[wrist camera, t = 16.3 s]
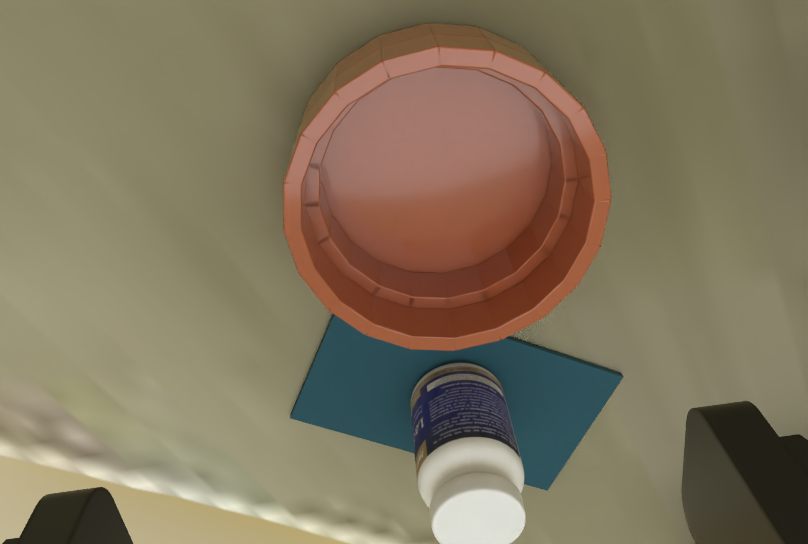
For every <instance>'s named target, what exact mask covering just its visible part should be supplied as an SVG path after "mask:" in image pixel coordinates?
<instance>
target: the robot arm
mask: <svg viewBox="0 0 808 544" xmlns="http://www.w3.org/2000/svg"><path fill="white" fill-rule="evenodd" d="M682 501H683V507H684V512H685V516H686V520H687V523H688V526H689V529H690V532H691V534H692V536H693V539H694V541H695V543H696V544H808V440H807V439H805V438H804V437H802V436H801V435H799V434H798V435H791V436H783V437H779V436H778V435H777V434H776V432H775V431H774V430H773V428H772V427H771V426H770V424H769V423H768V422H767V420H766V419H765V418H764V416H763V415H762V414H761V412H760V411H759V410H758V408H757V407H756V406H755V405H754V404H752V403H751V402H749V401H742V402H735V403H728V404H720V405H713V406H706V407H698V408H692V409H691V410H690V411H689V412H688V415H687V421H686V434H685V448H684V463H683V477H682ZM3 544H133V542H132V540H131V537H130V535H129V533H128V531H127V528H126V526H125V524H124V522H123V520H122V518H121V515H120V513H119V511H118V509H117V506H116V504H115V502H114V500H113V497H112V496H111V494H110V492H109V491H108V490H107V489H105V488H103V487H98V488H91V489H83V490H76V491H68V492H61V493H54V494H48V495H46V496H44V497H43V498H42V499H41V500H40V501H39V502H38V504H37V505H36V507H35V509H34V511H33V513H32V514H31V516H30V518H29V520H28V522H27V524H26V526H25V528H24V530H23V532H22V534H21V535H20V538H14V539H6V540H5V541H4V542H3Z"/></svg>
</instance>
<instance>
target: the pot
mask: <svg viewBox="0 0 808 544" xmlns="http://www.w3.org/2000/svg"><path fill="white" fill-rule="evenodd" d="M610 203H611V190H610V181H609V172H608V163H607V154H606V150H605V148H604V146H603V144H602V142H601V140H600V138H599V136H598V134H597V132H596V130H595V128H594V126H593V124H592V122H591V120H590V118H589V116H588V114H587V112H586V110H585V108H584V107H583V105H582V104H581V103H580V102H579V101H578V100H577V99H576V98H575V97H574V96H573V95H572V94H571V93H570V92H569V91H568V90H567V89H566V88H565V87H564V86H563V85H562V84H561V83H560V82H559V81H558V80H557V79H556V78H555V77H554V76H553V75H552V74H551V73H550V72H549V71H548V70H547V69H546V68H545V67H543V66H542V65H541V64H540V63H539V62H538V61H537V60H536V59H535V58H534V57H533V56H532V55H531V54H530V53H528V52H527V51H526V50H525V49H524V48H523V47H522V46H520V45H519V44H516V43H514V42H512V41H509V40H507V39H505V38H502V37H500V36H498V35H496V34H493V33H491V32H489V31H486V30H484V29H482V28H479V27H476V26H464V25H450V24H436V23H425V24H421V25H417V26H413V27H410V28H406V29H402V30H398V31H394V32H390V33H387V34H383V35H380V36H378V37H376V38H375V39H373V40H372V41H370V42H369V43H367V44H366V45H364V46H362V47H361V48H359V49H358V50H356V51H355V52H353V53H352V54H350V55H349V56H347V57H346V58H344V59H343V60H341V61H339V63H337V65H336V66H335V67H334V68H333V70H332V71H331V72H330V74H329V75H328V76H327V77H326V79H325V80H324V81H323V82H322V84H321V85H320V86H319V87H318V89H317V90H316V91H315V93H314V94H313V95H312V96H311V98H310V100H309V101H308V104H307V106H306V109H305V112H304V115H303V118H302V121H301V124H300V126H299V129H298V132H297V135H296V138H295V141H294V144H293V148H292V151H291V155H290V159H289V163H288V167H287V170H286V174H285V178H284V182H283V229H284V234H285V236H286V239H287V242H288V245H289V248H290V250H291V253H292V256H293V259H294V262H295V264H296V267H297V270H298V273H299V274H300V276H301V277H302V278H303V280H304V281H305V282H306V283H307V285H308V286H309V287H310V288H311V290H312V291H313V292H314V293H315V295H316V296H317V297H318V298H319V300H320V301H321V302H322V303H323V305H324V306H325V307H326V308H327V309H328V310H329V311H330V312H332V313H333V314H335V315H336V316H338V317H339V318H341V319H342V320H343V321H345V322H346V323H348V324H349V325H351V326H352V327H354V328H355V329H357V330H358V331H360V332H361V333H363V334H364V335H367V336H370V337H373V338H376V339H379V340H382V341H386V342H389V343H392V344H395V345H398V346H401V347H405V348H409V349H414V350H442V351H455V350H461V349H465V348H469V347H474V346H478V345H483V344H487V343H491V342H496V341H500V339H501V340H502V339H504V338H506V337H508V336H510V335H512V334H514V333H516V332H518V331H520V330H521V329H523V328H525V327H527V326H529V325H531V324H533V323H535V322H537V321H539V320H540V319H542V318H543V317H545V316H546V315H547V314H548V313H549V312H550V311H551V310H552V309H553V308H554V307H555V306H556V305H558V304H559V303H560V302H561V301H562V300H563V299H564V298H565V297H566V296H567V295H568V294H569V293H570V292H571V291H572V290H574V289H575V288H576V286H578V284H579V283H580V281H581V279H582V277H583V276H584V274H585V272H586V271H587V269H588V267H589V266H590V264H591V262H592V261H593V259H594V257H595V255H596V254H597V252H598V250H599V249H600V247H601V243H602V239H603V234H604V230H605V225H606V221H607V217H608V212H609V208H610Z"/></svg>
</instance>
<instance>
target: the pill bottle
mask: <svg viewBox="0 0 808 544" xmlns="http://www.w3.org/2000/svg"><path fill="white" fill-rule="evenodd" d="M411 416H412V428H413V438H414V449H415V461H416V473H417V482H418V488H419V492H420V494H421V497H422V499H423V500H424V502H425V503H426V505H427V506H428V507H429V508H430V519H431V526H432V530H433V533H434V535H435V537H436V539H437V540H438V541H439V542H440V543H441V544H510V543H512V542H513V541H514V540H515V539H516V538H517V537H518V536H519V535H520V533H521V532H522V530H523V528H524V525H525V510H524V505H523V500H522V496H521V492H522V489H523V485H524V469H523V465H522V461H521V457H520V453H519V450H518V446H517V442H516V439H515V435H514V431H513V428H512V424H511V420H510V416H509V412H508V408H507V404H506V400H505V396H504V392H503V389H502V387H501V385H500V383H499V381H498V380H497V378H496V377H495V376H494V375H493V374H492V373H490V372H489V371H488V370H486V369H484V368H483V367H480V366H478V365H475V364H470V363H451V364H446V365H443V366H440V367H437V368H435V369H433V370H432V371H430V372H429V373H427V374H426V375H425V376H424V377H423V378H422V379H421V380H420V381H419V382H418V383H417V385H416V387H415V388H414V391H413V394H412V397H411Z"/></svg>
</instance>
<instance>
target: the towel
mask: <svg viewBox="0 0 808 544" xmlns="http://www.w3.org/2000/svg"><path fill="white" fill-rule="evenodd" d="M451 363H470V364H475V365H478V366H480V367H483V368H484V369H486V370H488V371H489V372H490V373H492V374H493V375H494V376H495V377H496V378H497V380H498V381H499V383H500V385H501V387H502V389H503V392H504V396H505V400H506V404H507V408H508V412H509V416H510V420H511V424H512V428H513V431H514V435H515V439H516V442H517V446H518V450H519V453H520V457H521V461H522V465H523V469H524V484H526V485H530V486H534V487H537V488H541V489H544V490H548V489H549V487H550V486H551V484H552V483H553V481H554V480H555V478H556V477H557V475H558V474H559V472H560V471H561V469H562V468H563V466H564V465H565V463H566V462H567V460H568V459H569V457H570V456H571V454H572V453H573V451H574V450H575V448H576V447H577V445H578V444H579V442H580V441H581V439H582V438H583V436H584V435H585V433H586V432H587V430H588V429H589V427H590V426H591V424H592V423H593V421H594V420H595V418H596V417H597V415H598V414H599V412H600V411H601V409H602V408H603V406H604V405H605V403H606V402H607V400H608V399H609V398H610V396H611V395H612V393H613V392H614V390H615V389H616V387H617V386H618V384H619V383H620V381H621V380H622V378H623V376H622V374H621V373H619V372H616V371H613V370H610V369H606V368H603V367H600V366H597V365H594V364H591V363H588V362H585V361H582V360H579V359H576V358H573V357H570V356H567V355H564V354H561V353H558V352H555V351H552V350H549V349H546V348H543V347H540V346H537V345H534V344H531V343H528V342H525V341H522V340H519V339H516V338H513V337H509V336H508V337H506V338H504V339H502V340H501V339H500V341H496V342H491V343H487V344H483V345H478V346H474V347H469V348H465V349H461V350H455V351H442V350H414V349H409V348H405V347H401V346H398V345H395V344H392V343H389V342H386V341H382V340H379V339H376V338H373V337H370V336H367V335H364V334H363V333H361V332H360V331H358V330H357V329H355V328H354V327H352V326H351V325H349V324H348V323H346V322H345V321H343V320H342V319H341V318H339V317H338V316H336V315H335V314H333V316H332V318H331V321H330V323H329V325H328V328H327V330H326V332H325V335H324V337H323V339H322V342H321V344H320V346H319V349H318V351H317V354H316V356H315V358H314V361H313V363H312V365H311V368H310V370H309V372H308V375H307V377H306V379H305V382H304V384H303V386H302V389H301V391H300V394H299V396H298V398H297V401H296V403H295V405H294V408H293V410H292V412H291V416H290V418H291V419H295V420H298V421H302V422H306V423H309V424H313V425H316V426H320V427H323V428H327V429H331V430H334V431H338V432H341V433H345V434H348V435H352V436H355V437H359V438H363V439H366V440H370V441H373V442H377V443H380V444H384V445H388V446H391V447H395V448H398V449H402V450H405V451H409V452H412V453H415V449H414V438H413V428H412V416H411V397H412V394H413V391H414V388H415V387H416V385H417V383H418V382H419V381H420V380H421V379H422V378H423V377H424V376H425V375H426V374H427V373H429V372H430V371H432V370H433V369H435V368H437V367H440V366H443V365H446V364H451Z"/></svg>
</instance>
